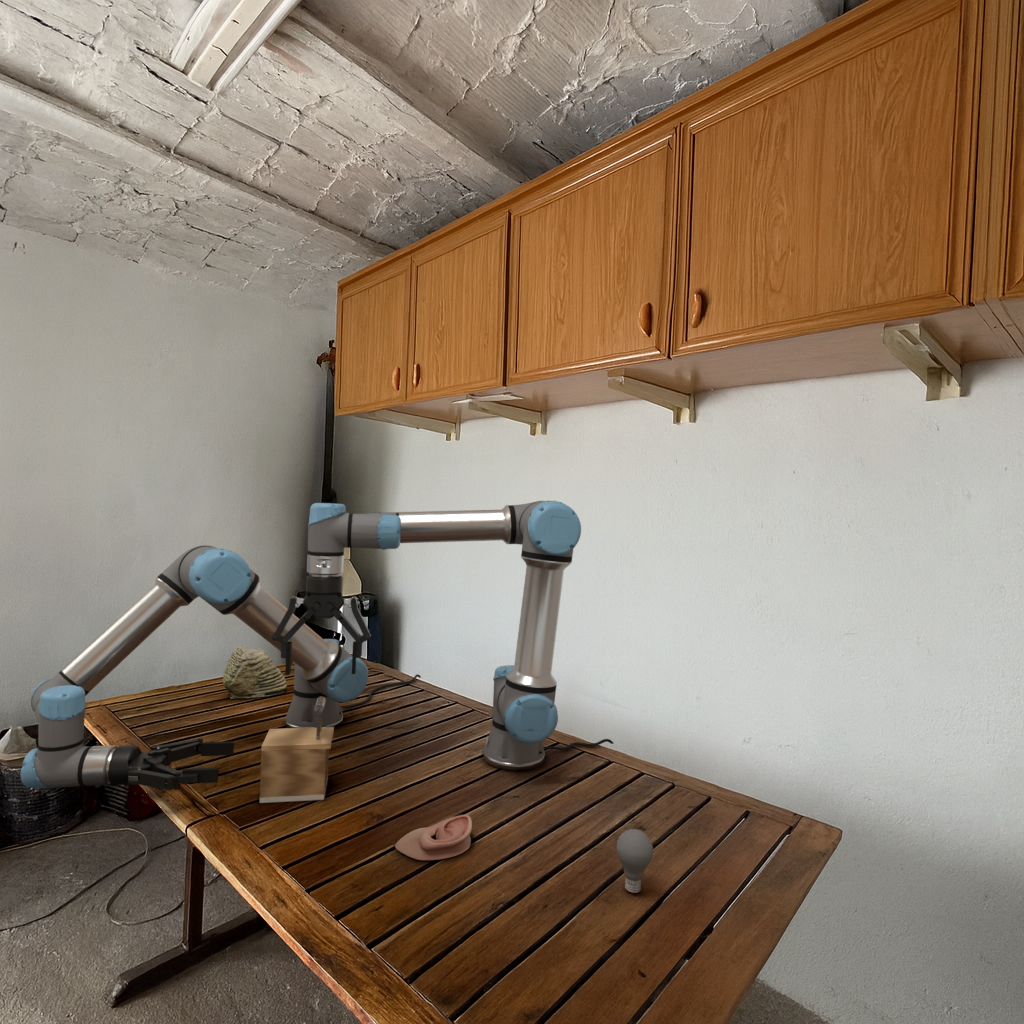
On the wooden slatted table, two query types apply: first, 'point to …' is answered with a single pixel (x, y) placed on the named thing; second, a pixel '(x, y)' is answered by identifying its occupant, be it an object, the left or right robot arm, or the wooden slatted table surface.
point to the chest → (293, 775)
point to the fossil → (252, 674)
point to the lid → (301, 735)
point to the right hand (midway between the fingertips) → (321, 673)
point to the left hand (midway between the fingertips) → (226, 760)
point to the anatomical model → (438, 839)
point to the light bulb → (634, 857)
